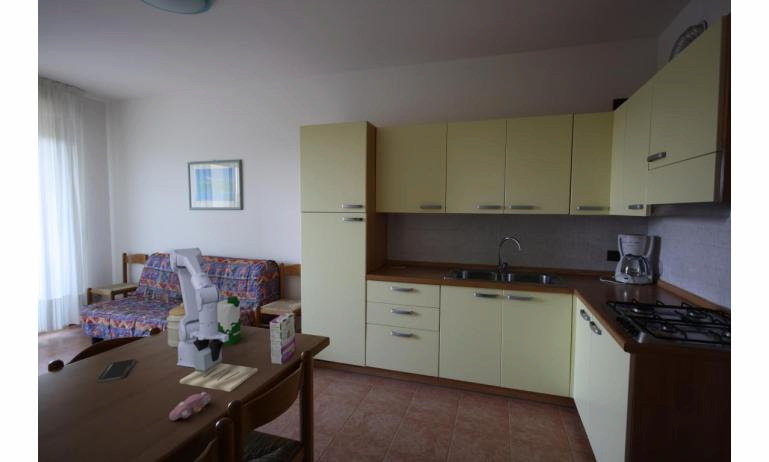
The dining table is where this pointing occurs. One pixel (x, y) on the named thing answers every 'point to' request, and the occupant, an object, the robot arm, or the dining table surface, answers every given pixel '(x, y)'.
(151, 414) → the dining table surface
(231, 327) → the milk carton
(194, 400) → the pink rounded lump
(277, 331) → the candy bar box
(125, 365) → the phone
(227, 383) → the marked board
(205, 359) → the block
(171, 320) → the jar
